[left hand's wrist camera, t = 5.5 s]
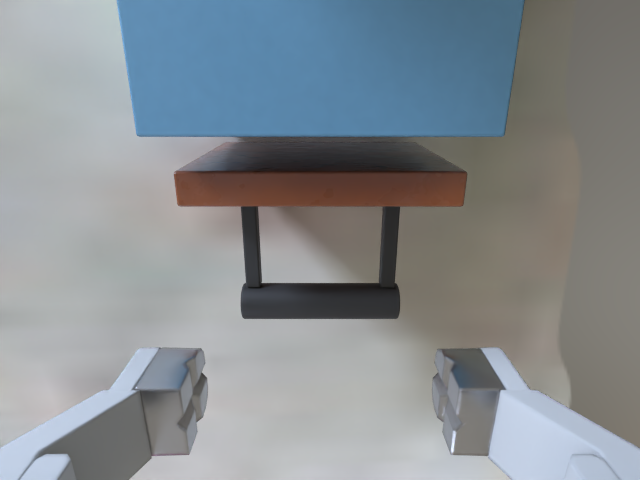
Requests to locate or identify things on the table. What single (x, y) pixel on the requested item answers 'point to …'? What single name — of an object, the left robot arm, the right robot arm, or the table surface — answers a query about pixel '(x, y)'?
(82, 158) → the table surface
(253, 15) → the light blue box
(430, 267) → the table surface
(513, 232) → the table surface
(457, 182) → the drawer
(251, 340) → the table surface
